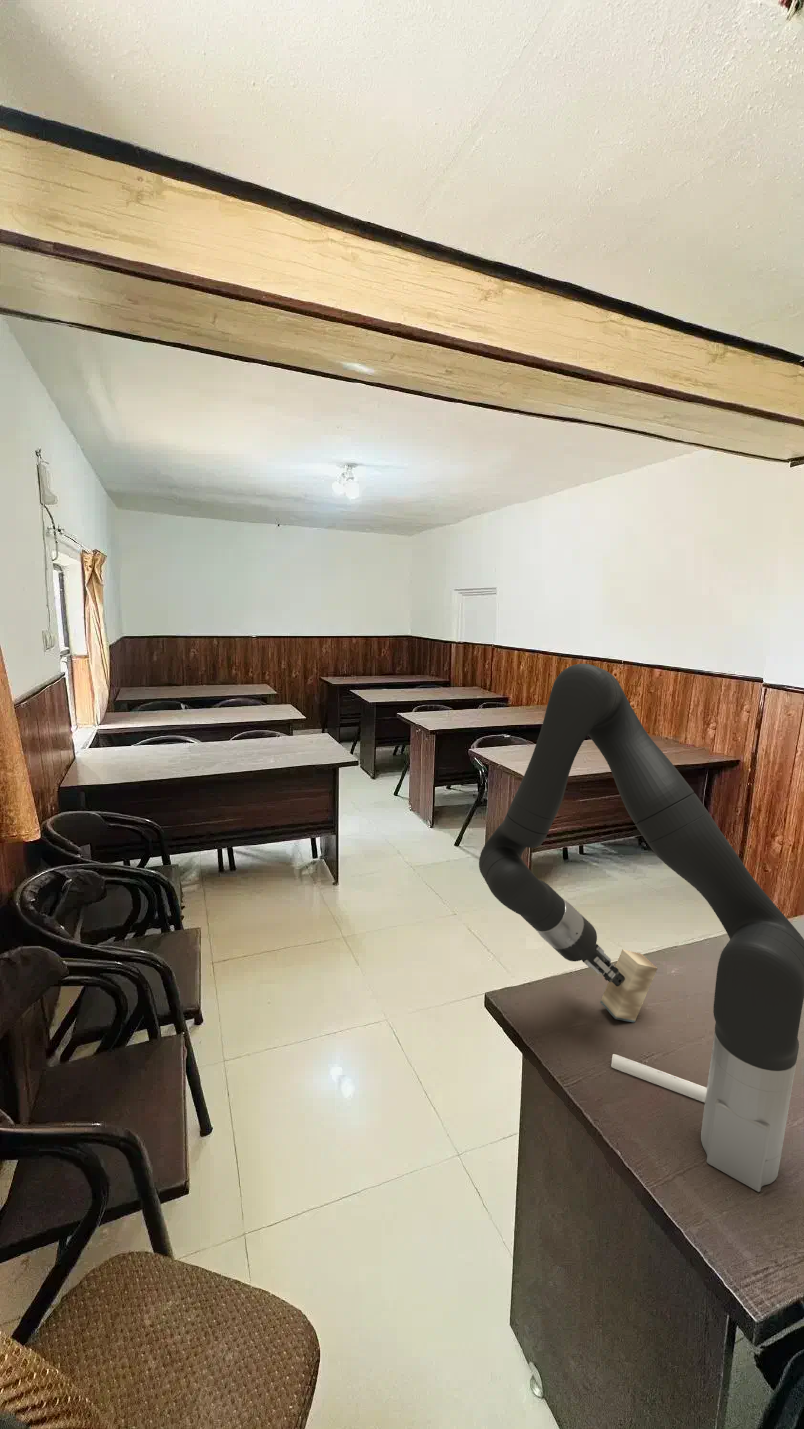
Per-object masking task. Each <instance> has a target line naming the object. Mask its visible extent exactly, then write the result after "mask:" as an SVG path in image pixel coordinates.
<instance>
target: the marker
mask: <svg viewBox="0 0 804 1429" xmlns="http://www.w3.org/2000/svg"><path fill="white" fill-rule="evenodd" d="M611 1057H612V1058H611V1064H610V1068H613V1069H614V1070H618V1071H619V1072H622V1073H625V1074H628V1075H630V1076H633V1077H636V1078H638V1079H640V1080H644V1081H646V1082H648V1083H652V1084H654V1085H657V1086H660V1087H662V1088H665V1089H667V1090H669V1091H673V1092H675V1093H678V1094H681V1095H684V1096H686V1097H689V1098H691V1099H693V1100H697V1101H699V1102H702V1103H704V1104H705V1099H706V1091H707V1086H703V1085H700V1084H698V1083H695V1082H692V1081H689V1080H688V1079H683V1078H682V1077H678V1076H675V1075H673V1074H670V1073H668V1072H665V1071H662V1070H659V1069H658V1068H654V1067H652V1066H649V1065H646V1064H643V1063H640V1062H639V1061H638V1062H637V1061H635V1060H632V1059H630V1058H627V1057H624V1056H621V1055H619V1054H616V1053H613V1054H612V1056H611Z"/></svg>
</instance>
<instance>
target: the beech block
mask: <svg viewBox="0 0 804 1429" xmlns="http://www.w3.org/2000/svg"><path fill="white" fill-rule="evenodd" d="M614 967H616V968H618V969H619V970H618V971H619V972H620V973H621V974H622V975H623V976H624V977H625V980H624V981H623V982H622V983H621V984H620V985H619V986H616V985H615V984H614V983H613V982H609V981H608V983H607V985H606V987H605V990H604V993H603V995H602V997H601V999H600V1004H601V1005H602V1006H603V1007H604V1008H605V1009H606V1011H607V1012H608V1013H609V1014H610V1015H611V1016H612V1018H614V1019H615V1020H619V1021H623V1022H631V1023H635V1022H636V1020H637V1018H638V1016H639V1014H640V1011H641V1009H642V1006H643V1003H644V1002H645V999H646V998H647V994H648V992H649V990H650V988H651V985H652V983H653V980H654V978H655V976H656V973H657V970H658V967H657V966H656V965H655V964H653V962H651V961H650V960H649V959H648V958H647V957H646V956H644V955H643V954H642V953H640V952H635V951H632V950H631V951H630V950H627V949H621V951H620V954H619V956H618V959H617V962H616V963H615V965H614Z"/></svg>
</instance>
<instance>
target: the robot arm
mask: <svg viewBox="0 0 804 1429" xmlns="http://www.w3.org/2000/svg"><path fill="white" fill-rule="evenodd" d="M538 734H539V735H538V737H537V740H536V743H535V746H534V750H533V753H532V754H531V758H530V760H529V762H528V764H527V767H526V770H525V772H524V774H523V777H522V780H521V782H520V784H519V786H518V788H517V790H516V793H515V794H514V797H513V799H512V801H511V803H510V806H509V807H508V810H507V812H506V814H505V818H504V820H503V821H502V823H500V824H499V826H498V827H497V828H496V829H495V831H494V832H492V835H491V836H489V838H488V840H487V841H486V842H485V844H484V846H483V847H482V850H481V852H480V855H479V860H478V868H479V871H480V874H481V876H482V878H483V879H484V881H485V883H486V885H487V887H488V889H489V890H490V892H491V894H492V895H493V896H494V897H495V898H496V899H497V900H498V902H500V903H501V904H502V905H503V906H504V907H505V908H507V909H509V910H511V911H512V912H514V913H515V914H518V915H519V916H520V917H522V918H523V920H525V921H526V923H528V924H529V925H530V926H531V927H532V928H533V929H534V930H535V931H536V932H537V933H538V935H539V936H540V937H541V938H542V939H543V940H544V941H545V942H546V943H548V944H549V945H550V946H551V947H552V948H553V949H554V950H555V952H557V953H558V954H560V956H562V958H564V959H565V960H567V961H569V962H580V961H582V963H584V964H585V965H586V966H587V967H588V968H591V969H592V970H593V971H594V972H596V974H597V975H601V976H603V978H604V980H605V981H608V982H613V983H614V984H615V985H616V986H619V985H620V984H621V983H622V982H623V981H624V980H625V977H624V976H623V975H622V974H621V973H620V972H619V971H618V970H619V969H618V968H616V967H615V964H614V963H612V959H611V957H609V956H608V955H607V954H606V953H605V950H604V949H603V948H602V947H601V946H600V945H599V944H598V943H597V942H598V941H597V940H598V935H597V934H598V933H597V931H596V928H595V927H594V925H593V924H592V923H590V921H589V920H588V919H586V918H585V917H584V916H583V915H582V914H581V913H580V911H578V910H577V909H576V907H574V905H572V904H571V903H570V902H569V901H567V900H565V899H564V898H563V897H561V896H560V895H559V893H558V892H556V891H555V890H554V889H553V888H552V887H551V886H550V884H548V883H547V882H545V881H543V880H540V879H539V878H538V877H537V876H536V874H534V873H533V872H532V871H531V870H530V868H529V867H528V866H527V865H526V863H525V862H524V860H523V859H522V856H523V854H524V852H525V850H526V849H527V848H529V849H535V848H539V847H540V846H541V845H542V844H543V843H544V841H545V840H546V838H547V835H548V833H549V831H550V829H551V828H552V825H553V823H554V821H555V818H556V816H557V815H558V813H559V809H560V807H561V805H562V802H563V798H564V795H565V792H566V788H567V784H568V780H569V777H570V776H569V775H570V772H571V769H572V766H573V764H574V761H575V759H576V756H577V754H578V752H579V751H580V749H581V746H582V745H583V743H584V741H585V740H586V738H587V737H589V738H590V740H591V741H592V743H594V745H595V746H596V747H597V749H598V750H599V751H600V753H601V754H602V757H603V758H604V760H605V761H606V763H607V765H608V767H609V769H610V772H611V774H612V777H613V779H614V783H615V785H616V788H617V791H618V792H619V796H620V797H621V801H622V803H623V805H624V807H625V809H626V811H627V813H628V815H629V817H630V818H631V820H632V822H633V824H635V827H636V828H637V830H638V831H639V832H640V834H641V836H642V837H643V838H644V840H645V842H646V844H647V845H648V846H649V848H651V850H652V852H653V853H654V854H655V855H656V856H657V857H658V859H660V860H661V861H662V862H663V863H664V864H665V865H666V866H667V867H668V868H669V869H671V870H672V871H673V872H675V874H677V875H678V876H680V877H681V878H682V879H684V880H685V881H686V882H687V883H688V884H689V885H691V886H692V887H693V888H694V889H695V890H696V891H697V892H698V893H699V894H701V896H702V897H703V898H704V899H705V901H706V902H707V904H708V905H709V906H710V908H711V909H712V910H713V912H714V914H715V915H716V917H717V918H718V920H719V921H720V923H721V925H722V927H723V929H724V930H725V932H726V934H727V936H728V938H729V941H728V942H727V943H726V944H725V946H724V948H723V949H722V951H721V953H720V955H719V956H720V957H719V959H718V962H717V969H716V978H715V988H714V996H713V997H714V998H713V1009H712V1010H713V1011H712V1012H713V1018H714V1020H715V1023H714V1024H715V1025H714V1034H713V1040H712V1041H713V1042H712V1049H711V1055H710V1064H709V1070H708V1071H709V1072H708V1078H707V1084H706V1088H707V1091H706V1099H705V1103H704V1105H703V1106H704V1108H703V1115H702V1123H701V1132H700V1141H701V1145H702V1147H703V1150H704V1152H705V1153H706V1163H707V1164H708V1165H710V1166H712V1167H714V1168H715V1169H717V1170H719V1171H721V1172H723V1173H724V1174H726V1175H727V1176H729V1177H731V1178H733V1179H735V1180H736V1181H737V1182H740V1183H742V1184H743V1185H745V1186H747V1187H749V1188H750V1189H752V1190H753V1191H756V1192H758V1193H759V1192H761V1190H762V1187H764V1186H766V1185H767V1186H768V1185H770V1184H772V1183H774V1182H775V1180H776V1179H777V1178H778V1175H779V1170H780V1164H781V1158H782V1152H783V1145H784V1139H785V1133H786V1126H787V1122H788V1115H789V1108H790V1103H791V1096H792V1089H793V1085H794V1078H795V1073H796V1069H797V1068H796V1066H797V1060H798V1054H799V1049H800V1043H799V1042H800V1041H799V1038H798V1036H799V1030H800V1024H801V1018H802V1011H803V1006H804V937H803V936H802V935H801V933H800V932H799V931H798V930H797V929H796V927H795V926H794V925H793V924H792V922H791V921H790V920H789V919H788V918H787V917H786V915H784V913H782V911H781V910H780V909H779V908H778V906H777V905H776V904H775V903H774V902H773V901H772V900H771V898H770V897H769V895H768V894H767V893H766V892H765V891H764V890H763V889H762V888H761V886H760V884H758V883H757V881H756V880H755V878H754V877H753V876H752V874H750V871H749V870H748V869H747V868H746V866H745V864H744V863H743V862H742V860H741V857H740V856H739V855H738V853H737V852H736V851H735V849H734V848H733V846H732V844H730V842H729V840H727V838H726V836H725V835H724V834H723V832H722V831H721V829H720V828H719V827H718V825H717V823H716V822H715V820H714V818H713V817H712V816H711V814H710V812H709V811H708V810H707V808H706V807H705V805H704V803H702V801H701V800H700V798H699V797H698V795H697V794H696V793H695V791H694V790H693V788H692V786H691V785H689V783H688V782H687V781H686V779H685V778H684V777H683V776H682V774H681V773H680V771H679V770H678V769H677V768H676V766H675V764H673V763H672V761H671V760H670V758H668V757H667V755H666V754H665V753H664V752H663V751H662V750H661V748H660V747H659V746H658V745H657V744H656V742H655V741H654V740H653V739H652V737H650V734H648V732H647V731H646V729H645V728H644V726H643V725H642V723H641V721H640V720H639V717H638V715H637V714H636V712H635V711H634V709H633V706H632V705H631V703H630V701H629V699H628V697H627V696H626V694H625V692H624V690H623V688H622V686H621V684H620V683H619V681H618V679H617V678H616V677H615V676H614V675H613V674H612V673H611V672H609V671H608V670H606V669H603V668H602V667H599V666H596V665H593V664H590V663H576V664H573V665H570V666H568V667H567V668H564V669H563V670H562V671H561V672H560V673H559V674H558V675H557V677H556V678H555V680H554V682H553V684H552V688H551V690H550V695H549V698H548V702H547V706H546V710H545V714H544V717H543V721H542V724H541V727H540V732H539V733H538Z"/></svg>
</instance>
